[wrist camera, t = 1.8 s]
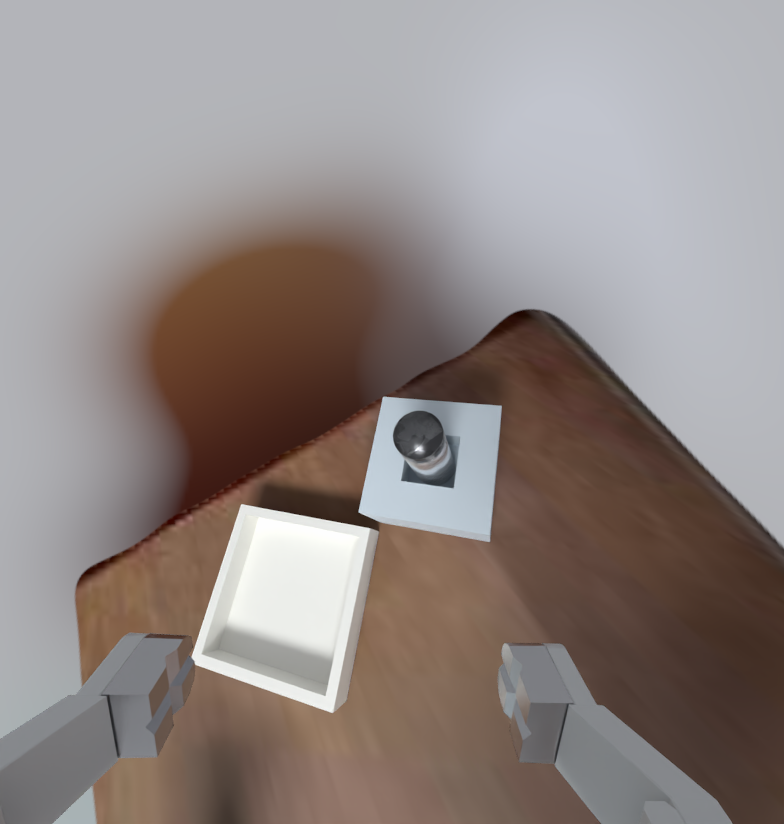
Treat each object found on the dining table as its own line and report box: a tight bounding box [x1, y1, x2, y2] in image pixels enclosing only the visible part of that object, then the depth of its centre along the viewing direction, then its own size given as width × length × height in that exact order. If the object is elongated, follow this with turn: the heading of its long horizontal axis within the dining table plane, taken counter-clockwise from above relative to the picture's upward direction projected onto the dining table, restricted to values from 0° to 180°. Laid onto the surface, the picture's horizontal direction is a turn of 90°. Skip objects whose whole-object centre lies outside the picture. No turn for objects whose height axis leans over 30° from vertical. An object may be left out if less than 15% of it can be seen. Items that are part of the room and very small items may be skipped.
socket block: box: [359, 397, 502, 542], centre depth 39 cm, size 12×12×8 cm
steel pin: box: [393, 411, 455, 486], centre depth 33 cm, size 4×4×10 cm
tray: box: [192, 504, 379, 713], centre depth 40 cm, size 16×16×4 cm
